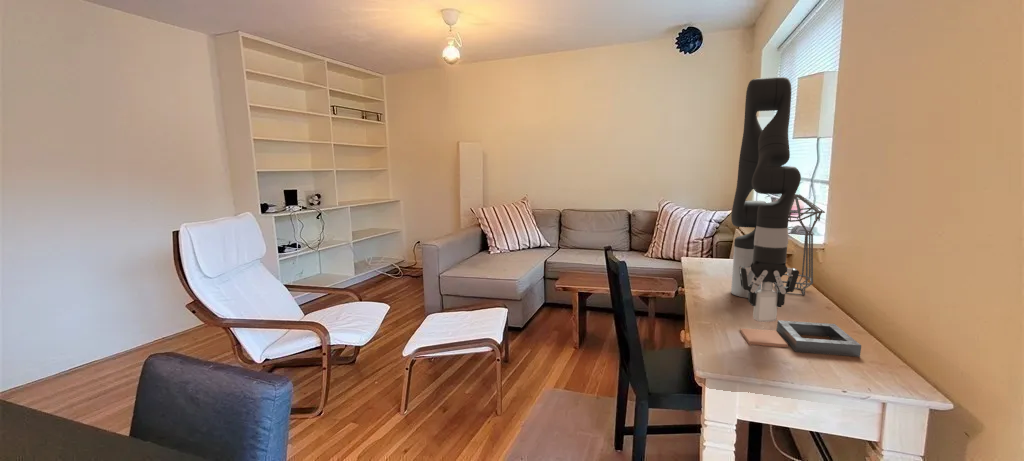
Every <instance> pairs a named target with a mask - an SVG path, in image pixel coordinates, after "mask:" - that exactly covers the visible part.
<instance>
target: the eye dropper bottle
mask: <svg viewBox="0 0 1024 461" xmlns="http://www.w3.org/2000/svg"><path fill="white" fill-rule="evenodd" d="M773 285H774V283H773V282H769V281H768V282H762V283H761V290H759V291H757V292H756V303H755V306H753V312H752V319H753V320H754V321H756V322H759V323H773V322H776V320H777V316H778V315H777V313H778V307H777V304H778V293H777V291H775V290H773Z"/></svg>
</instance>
